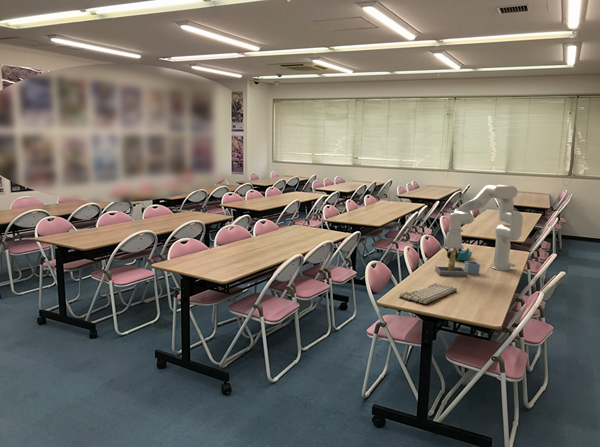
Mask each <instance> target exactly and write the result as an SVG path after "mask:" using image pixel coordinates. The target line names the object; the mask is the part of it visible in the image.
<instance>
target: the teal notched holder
mask: <svg viewBox="0 0 600 447" xmlns="http://www.w3.org/2000/svg"><path fill="white" fill-rule="evenodd" d="M452 249H453V250H454V251H456V248H452ZM472 255H473V252H472V251H470V248H468V247H467V248H466V250H465V249H462V250H461V251H459V253H458V257H457V259H456V258H455V262H459V261H463V262H465V261H469V259H470V258H471V257H472Z"/></svg>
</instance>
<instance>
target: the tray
mask: <svg viewBox="0 0 600 447" xmlns="http://www.w3.org/2000/svg"><path fill="white" fill-rule="evenodd" d="M434 271H435V273H437V275H438V276H439V277H464V278H465V277H467V278H468V274H467V273H468V272H467V271H466V270H464V268H463V267H461V266H459V267H458V266H457V267H456V266H455V268H454V271H451V270H448V266H436V265H435V269H434Z"/></svg>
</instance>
